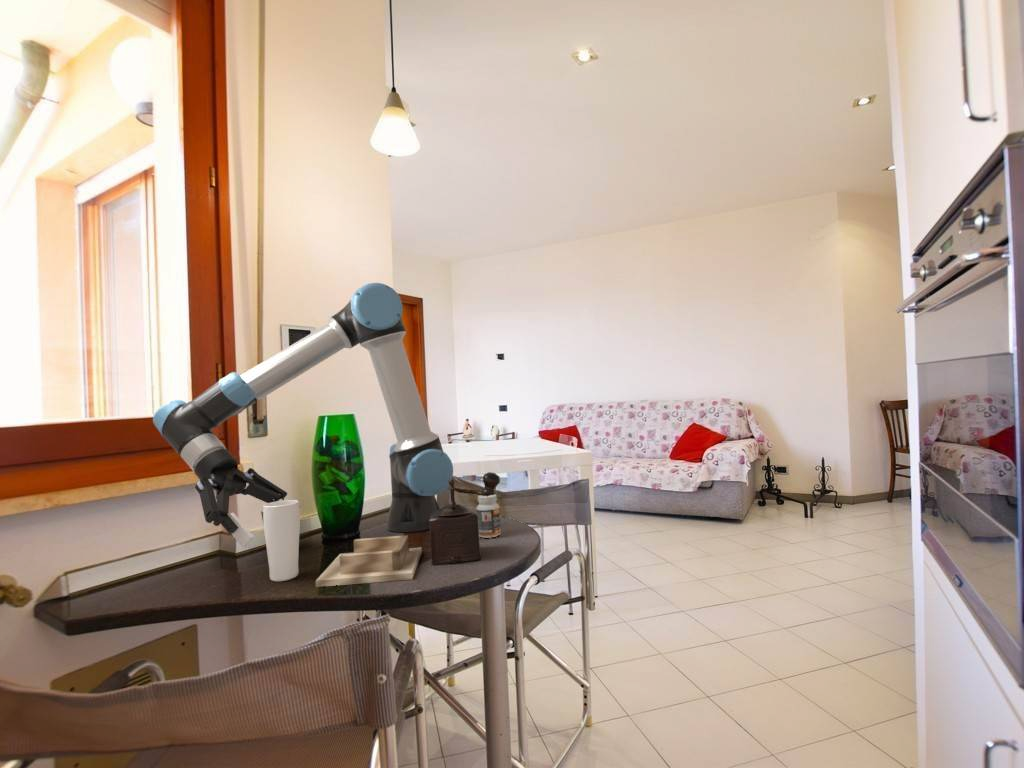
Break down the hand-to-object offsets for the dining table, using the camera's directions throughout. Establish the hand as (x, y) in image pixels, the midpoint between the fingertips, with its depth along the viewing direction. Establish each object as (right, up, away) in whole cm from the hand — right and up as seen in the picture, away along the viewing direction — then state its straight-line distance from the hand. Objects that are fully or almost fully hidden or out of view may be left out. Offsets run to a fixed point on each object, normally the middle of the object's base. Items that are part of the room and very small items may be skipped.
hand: (274, 533), depth 106 cm
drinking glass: (+2, -9, 0) cm, 9 cm away
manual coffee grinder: (+38, -7, +8) cm, 40 cm away
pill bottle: (+43, -8, +23) cm, 49 cm away
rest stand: (+19, -8, +3) cm, 21 cm away
